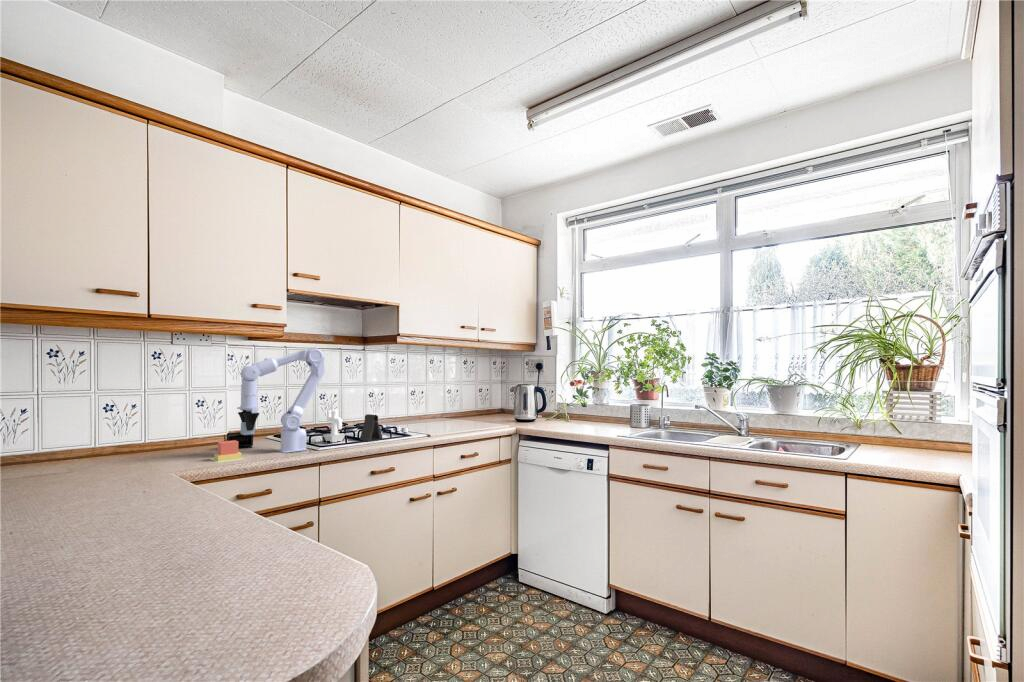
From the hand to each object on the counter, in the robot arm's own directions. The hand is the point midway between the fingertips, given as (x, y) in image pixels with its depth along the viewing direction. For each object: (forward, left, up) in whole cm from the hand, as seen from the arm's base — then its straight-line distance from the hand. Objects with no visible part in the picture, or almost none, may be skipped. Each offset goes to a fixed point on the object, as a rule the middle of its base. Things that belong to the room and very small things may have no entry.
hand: (248, 429), depth 202 cm
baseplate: (+8, +5, -10) cm, 14 cm away
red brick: (+8, +5, -8) cm, 13 cm away
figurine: (-39, -5, -10) cm, 40 cm away
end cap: (-3, -18, -10) cm, 21 cm away
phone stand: (-55, 0, -10) cm, 56 cm away
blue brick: (0, 0, -2) cm, 2 cm away
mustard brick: (+8, +5, -10) cm, 14 cm away
